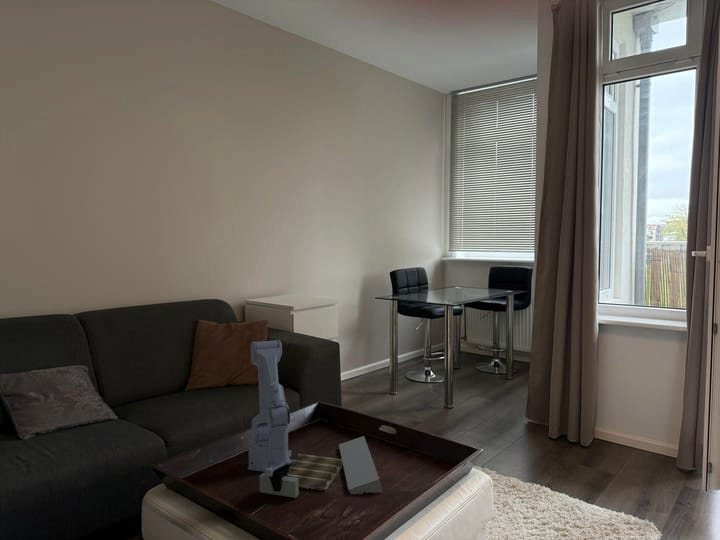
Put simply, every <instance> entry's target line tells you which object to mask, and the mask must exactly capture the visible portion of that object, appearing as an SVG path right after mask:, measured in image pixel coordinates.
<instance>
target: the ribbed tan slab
mask: <svg viewBox="0 0 720 540" xmlns="http://www.w3.org/2000/svg"><path fill="white" fill-rule="evenodd" d="M291 460H292V462H291V466H290V468H289V470H288V473H287V477H294V478H299V488H304V489H309V488H311V490H315V489H317V491H322V490H325V491H324V492H326V491H327V490H328V488H329V487H330V486H331V484H332V483H333V481H334V480H335V478H336V477H337V476H338V474H339V473H340V471H341V470H342V469H341V468H344V467H343V462H342V458H335V457H326V456H319V455H314V454H304V453H298V454H297V459H291ZM329 485H330V486H329ZM326 489H327V490H326Z"/></svg>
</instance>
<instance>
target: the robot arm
mask: <svg viewBox="0 0 720 540" xmlns="http://www.w3.org/2000/svg"><path fill="white" fill-rule="evenodd" d="M282 355H283V347H282V342H281V340H280V339H275V340H265V341H252V342H251V343H250V362H251V365H253V366H256V368H257V373H258V375H257V376H258V400H259V401H258V402H259V413H258V414H257V415H256V416H254V417H253V418H252V421H251V431H250V432H251V441H250V444H249V447H248V466H247V470H249V471H257V472H262V473H265V476H269V478H270V480H271V484H272V487H273V491H277V492H280V490H281V485H282V478H283V476H287V473H288V470H289V468H290V467H292V460H293V459H291V457H292V449H289V429H288V428H289V427H288V426H289V425H290V423H291V412H290V408H289V404H288V403H287V402H286V396H285V391H284V387H283V385H282V384H280V383H279V374H278V373H279V370H278V363H279V362H280V361H281V358H282Z"/></svg>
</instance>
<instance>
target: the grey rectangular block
mask: <svg viewBox="0 0 720 540" xmlns="http://www.w3.org/2000/svg"><path fill="white" fill-rule="evenodd" d="M338 447H339V451H340V456H341V457H340V458H341V459H342V464H343V467H342V468H343V470H344V475H345V476H344V477H345V480H346V485H347V490H348V492H349V493H350V495H352V494H353V495H363V494H364V493H365V494H368V493H372V494H380V493H381V494H383V487H382V483H381V480H380V477H379V474H378V471H377V469H376V466H375V462H374V460H373V457H372V455H371V452H370V448H369V446H368V443H367V439H366V438H365V436H364V435H363V436H359V437H357V438H354V439H351V440H348V441H345V442H342V443H339V444H338Z"/></svg>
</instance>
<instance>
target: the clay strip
mask: <svg viewBox="0 0 720 540" xmlns="http://www.w3.org/2000/svg"><path fill="white" fill-rule="evenodd" d="M258 478H259V479H258V480H259V493H263V494H270V495H275V496H280V497H281V496H282V497H288V498H293V499H294V498H297V497H298V496H299V494H300V493H299V491H300V490H299V488H300V487H299V478H294V477H287V476H283V478H282V485H281V490H280V492H277V491H273V487H272V484H271V480H270V478H269V476H265V472H262V474H260V475H259V477H258Z"/></svg>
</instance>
